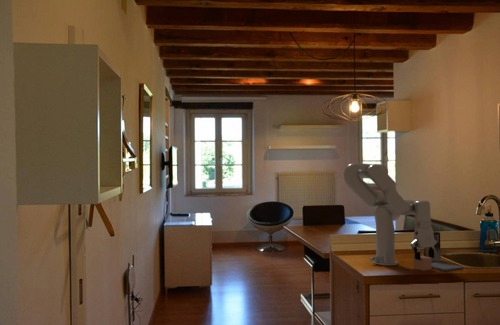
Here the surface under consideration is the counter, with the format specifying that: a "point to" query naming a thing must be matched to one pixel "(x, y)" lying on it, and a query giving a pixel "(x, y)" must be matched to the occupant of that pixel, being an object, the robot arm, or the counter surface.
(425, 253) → the coffee box
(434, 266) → the mat
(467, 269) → the counter surface
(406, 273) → the counter surface
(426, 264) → the terracotta cube
